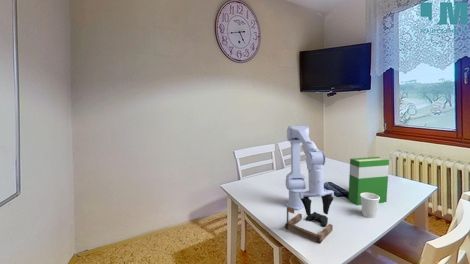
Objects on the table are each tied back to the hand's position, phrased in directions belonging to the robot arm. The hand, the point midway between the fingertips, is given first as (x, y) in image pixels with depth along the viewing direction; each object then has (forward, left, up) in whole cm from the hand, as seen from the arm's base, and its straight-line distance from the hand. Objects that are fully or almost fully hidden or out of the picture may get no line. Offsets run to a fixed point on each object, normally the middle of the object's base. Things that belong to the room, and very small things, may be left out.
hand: (317, 214), depth 93 cm
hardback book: (-52, +6, -11) cm, 53 cm away
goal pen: (-4, -5, -10) cm, 12 cm away
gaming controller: (-14, -5, -11) cm, 18 cm away
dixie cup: (-35, +11, -11) cm, 38 cm away
